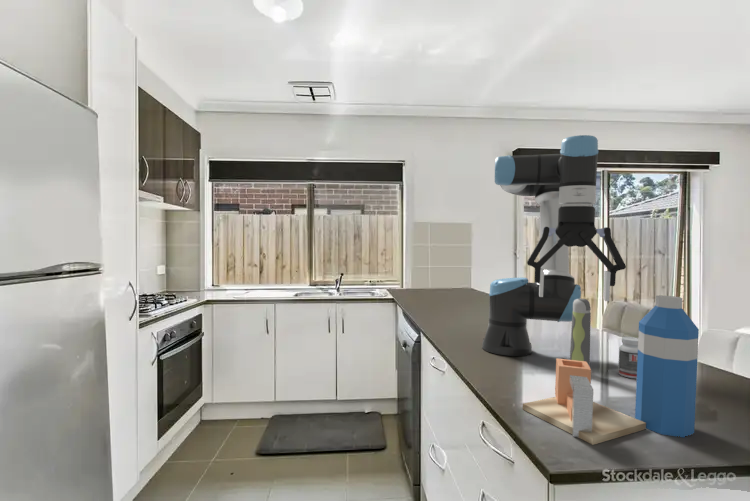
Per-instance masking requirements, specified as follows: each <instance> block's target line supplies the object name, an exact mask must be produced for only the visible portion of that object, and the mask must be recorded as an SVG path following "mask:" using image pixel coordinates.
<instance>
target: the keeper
mask: <svg viewBox="0 0 750 501" xmlns="http://www.w3.org/2000/svg"><path fill="white" fill-rule="evenodd" d="M570 385H571V387H572V390H573V403H572V434H571V435H572V437H573V438H578V437H579V431H582V432H589V433H592V414H593V402H594V388H593V386H592V383H591V384H590V382H589V380H588V378H587V377H581V376H573V375H570Z"/></svg>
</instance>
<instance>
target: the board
mask: <svg viewBox="0 0 750 501" xmlns="http://www.w3.org/2000/svg"><path fill="white" fill-rule="evenodd" d="M522 410H523V411H525V412H526V413H527V412H528V413H530V414H531V415H533V416H535V417H537V418H539V419H540V420H543V421H545V422H547V423H549V424H551V425H553V426H554V427H557V428H559V429H561V430H563V431H565V432H566V433H569V434H570V435H572V421H571V420H570V416H569V413H568V410H567V407H566V405H561V404H558V403H557V400H556V396H554V397H548V398H544V399H539V400H533V401H529V402H525V403H524V402H523V403H522ZM646 429H647V428H646V423H645V422H643V421H640V420H638V419H635V417H633V416H630V415H627V414H624V413H623V412H620V411H617V410H615V409H613V408H610V407H607V406H606V405H602V404H600V403H598V402H595V401H593V414H592V433H589V432H582V431H579V437H577V438H578V439H580V440H582V441H585V442H586V443H588V444H590V445H592V446H595V445H597V444H600V443H604V442H608V441H610V440H614V439H617V438H620V437H624V436H627V435H630V434H634V433H637V432H642V431H644V430H646Z"/></svg>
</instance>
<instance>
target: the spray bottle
mask: <svg viewBox="0 0 750 501" xmlns="http://www.w3.org/2000/svg"><path fill="white" fill-rule="evenodd" d="M591 316H592V312H591V304H590V302H589V300H588V299H587V298H581V299H576V300H574V302H573V312H572V321H571V330H570V331H571V334H570V349H569V350H570V351H569V360H576V361H586V362H587V363H588V365H589V367H590V368H591V366H590V364H591V363H590V361H591Z"/></svg>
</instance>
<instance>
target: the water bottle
mask: <svg viewBox="0 0 750 501" xmlns="http://www.w3.org/2000/svg"><path fill="white" fill-rule="evenodd" d="M699 332H700V329H699V328H698V327H697V325H696V324H695V322H694V321H693V320H692V319H691V318H690V317H689V315H688V313H686V311H685V310H684V308H683V297H682V296H681V297H680V296H676V295H675V296H672V295H661V294H660V295H655V305H654V306H653V307H652V309H651V310H650V311H649V312H647V313H646V314H645V315H644V316H643V317H642V319H640V320H639V321H638V337H637V338H638V358H637V379H636V386H635V411H634V414H635V415H634V418H635V419H638V420H640V421H643V422H645V423H646V429H647V430H650V431H652V432H654V433H657V434H659V435H664V436H669V437H671V436H673V437H677V436H678V438H679V436H680V438H686V437H685V436H687V437H689V436H691V434H692V435H694V434H695V424H696V422H695V421H696V401H697V400H696V399H697V398H696V397H697V378H698V377H697V376H698V359H699V358H698V356H699V336H700V335H699ZM693 433H694V434H693ZM688 435H689V436H688Z"/></svg>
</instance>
